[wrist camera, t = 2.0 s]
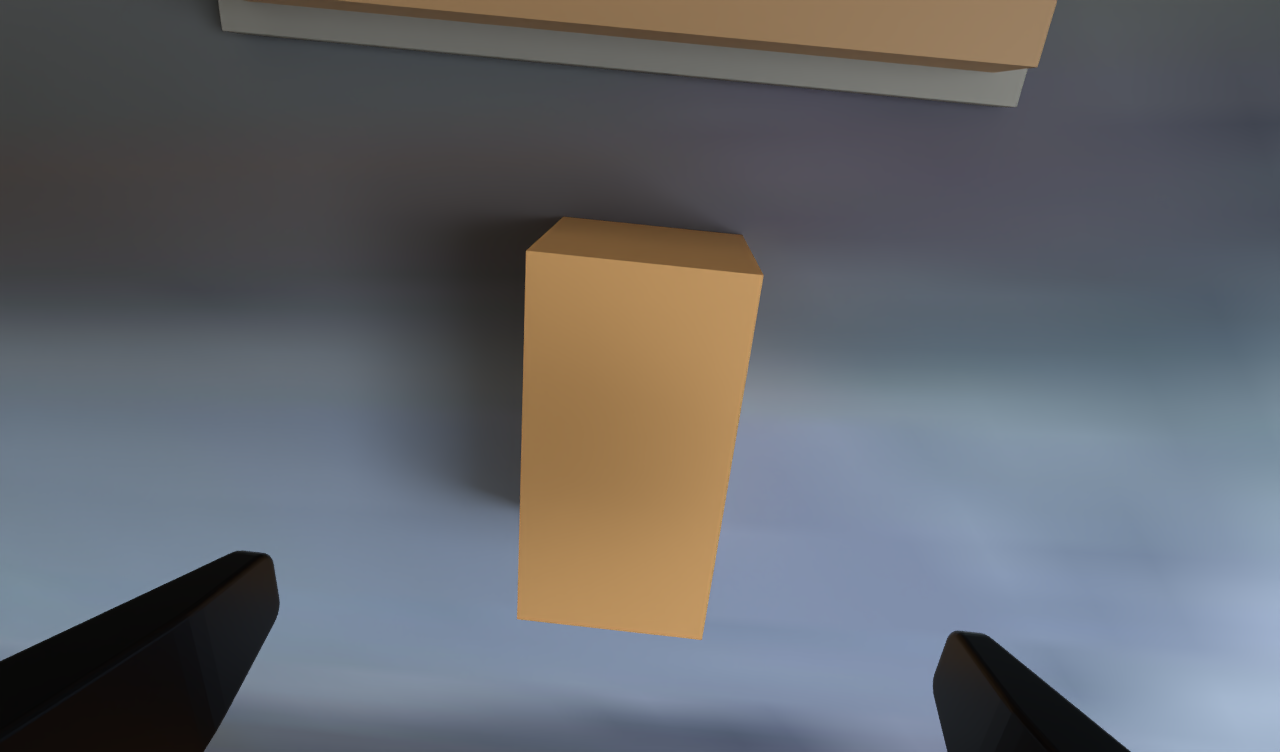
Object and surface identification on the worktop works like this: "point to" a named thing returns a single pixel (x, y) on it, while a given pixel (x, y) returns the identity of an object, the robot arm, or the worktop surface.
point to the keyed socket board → (704, 38)
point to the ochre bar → (629, 420)
